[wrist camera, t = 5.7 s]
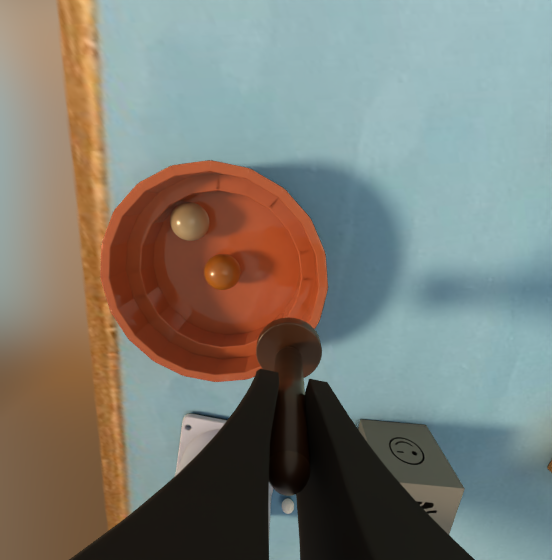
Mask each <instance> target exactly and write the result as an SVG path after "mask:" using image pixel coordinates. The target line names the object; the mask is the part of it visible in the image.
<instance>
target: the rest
mask: <svg viewBox="0 0 552 560" xmlns="http://www.w3.org/2000/svg"><path fill="white" fill-rule="evenodd" d="M547 468H548V469H549V470H550V471H551V473H552V460H551V462H550V463H549V465H548V467H547Z"/></svg>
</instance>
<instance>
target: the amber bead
mask: <svg viewBox="0 0 552 560" xmlns="http://www.w3.org/2000/svg"><path fill="white" fill-rule="evenodd" d="M240 275H241V269H240V265H239V263H238V262H237V260H236V259H235V258H233V257H232V256H230V255H227V254H217V255H215V256H213V257H211V258H210V259H209V260H208V261H207V263H206V265H205V268H204V276H205V279H206V281H207V283H208V284H209V285H210V286H211V287H213V288H215V289H218V290H227V289H230V288H232V287H233V286H235V285H236V284H237V282H238V281H239V279H240Z"/></svg>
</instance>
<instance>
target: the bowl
mask: <svg viewBox="0 0 552 560" xmlns="http://www.w3.org/2000/svg"><path fill="white" fill-rule="evenodd" d="M185 202H192V203H196V204H198V205H200V206H201V207H202V208H203V209H204V210H205V211H206V212H207V214H208V217H209V228H208V231H207V233H206V234H205V235H204V236H203V237H202V238H200V239H198V240H195V241H187V240H183V239H181V238H179V237H178V236H177V235H176V234H175V233H174V232H173V230H172V228H171V225H170V216H171V213H172V211H173V210H174V208H175V207H177V206H178V205H179V204H182V203H185ZM217 254H227V255H230V256H232V257H233V258H235V259H236V260H237V262H238V263H239V265H240V269H241V275H240V279H239V281H238V282H237V284H236V285H235V286H233V287H232V288H230V289H227V290H218V289H215V288H213V287H211V286H210V285H209V284H208V283H207V281H206V279H205V276H204V268H205V265H206V263H207V261H208V260H209V259H210V258H211V257H213V256H215V255H217ZM100 277H101V282H102V285H103V288H104V292H105V295H106V299H107V302H108V305H109V309H110V311H111V313H112V315H113V316H114V318H115V319H116V321H117V322H118V324H119V325H120V327H121V328H122V330H123V332H124V333H125V335H126V336H127V338H128V339H129V340H130V341H131V342H132V343H133V344H135V345H136V346H137V347H138V348H139V349H140V350H141V351H143V352H144V353H145V354H146V355H147V356H148V357H149V358H150V359H152V360H153V361H154V362H156V363H158V364H160V365H162V366H164V367H166V368H168V369H170V370H172V371H174V372H177V373H179V374H181V375H184V376H187V377H192V378H197V379H202V380H207V381H213V382H215V381H216V382H222V381H234V380H246V379H250V378H252V377H255V375H256V371H257V370H259V369H262V367H261V366H260V364H259V362H258V360H257V357H256V345H257V341H258V337H259V335H260V333H261V331H262V330H263V329H264V327H265V326H267V325H268V324H269V323H271V322H272V321H274V320H277V319H280V318H297V319H300V320H303V321H305V322H306V323H308V324H309V325H311V326H312V327H313V328H314V329H315V327H316V326H317V324H318V323H319V321H320V318H321V314H322V310H323V306H324V302H325V299H326V295H327V291H328V280H327V266H326V254H325V251H324V248H323V246H322V244H321V241H320V239H319V236H318V234H317V232H316V229H315V227H314V225H313V222H312V220H311V219H310V217H309V216H308V215H307V213H306V212H305V211H304V210H303V209H302V208H301V207H300V205H299V204H298V203H297V202H296V201H295V200H294V199H293V197H292V196H291V195H290V194H289V193H288V192H287V191H286V190H285V189H284V188H283V187H281V186H279V185H278V184H276V183H274V182H273V181H271V180H269V179H267V178H266V177H264V176H262V175H261V174H259V173H257V172H255V171H254V170H252V169H249V168H246V167H241V166H237V165H232V164H227V163H222V162H217V161H212V160H211V161H210V160H207V161H200V162H193V163H185V164H178V165H172V166H169V167H168V168H166V169H164V170H162V171H160V172H158V173H156V174H154V175H152V176H151V177H149V178H147V179H145V180H143V181H141V182H139V184H137V185H136V186H135V187H134V188H133V189H132V190H131V192H130V193H129V194H128V195H127V196H126V197H125V198H124V200H123V201H122V202H121V203H120V204H119V205H118V206H117V208H116V209H115V210H114V212H113V214H112V217H111V220H110V222H109V225H108V227H107V230H106V233H105V235H104V238H103V241H102V244H101V276H100Z"/></svg>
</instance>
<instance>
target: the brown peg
mask: <svg viewBox="0 0 552 560" xmlns="http://www.w3.org/2000/svg"><path fill="white" fill-rule="evenodd" d="M321 356H322V348H321V343H320V339H319V336H318V334H317V332H316V331H315V329H314V328H313V327H312V326H311V325H309V324H308V323H306V322H305V321H303V320H300V319H297V318H280V319H277V320H274V321H272V322H271V323H269V324H268V325H267V326H265V327H264V329H263V330H262V331H261V333H260V335H259V337H258V341H257V345H256V357H257V360H258V362H259V364H260V366H261V367H262V369H265V370H270V371H274V372H278V373H279V390H278V395H277V401H276V407H275V413H274V418H273V424H272V430H271V438H270V452H269V483H270V485H271V486H272V487H273V488H274V489H275V490H276V491H277V492H278V493H280V494H282V495H286V496H291V495H295V494H297V493H299V492H301V491H302V490H303V489H304V488H305V486H306V485H307V483H308V481H309V477H310V456H309V443H308V430H307V419H306V407H305V390H304V377H306V376H308V375H310V374H311V373H312V372H313V371H314V370H315V369H316V368H317V366H318V364H319V363H320V360H321Z"/></svg>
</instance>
